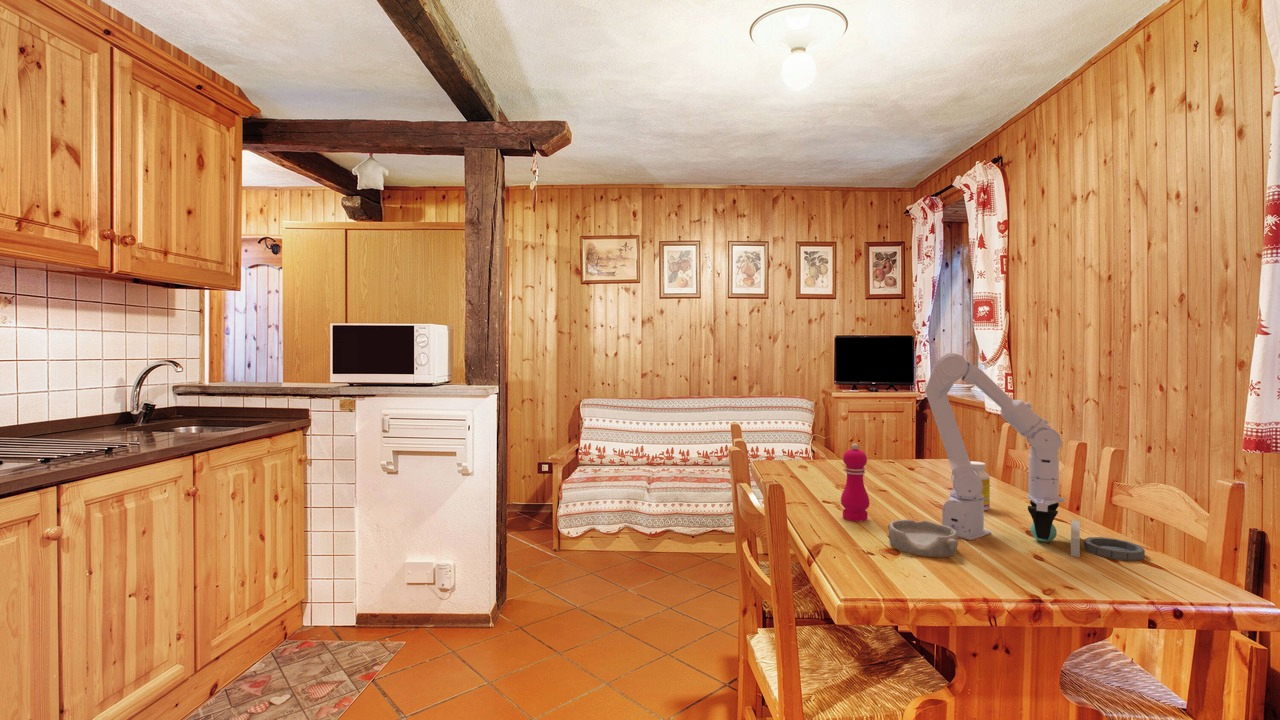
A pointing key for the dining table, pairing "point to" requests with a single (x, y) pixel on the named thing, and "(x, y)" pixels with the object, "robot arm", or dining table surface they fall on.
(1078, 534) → the acrylic wall
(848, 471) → the pepper mill
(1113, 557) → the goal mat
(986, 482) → the supplement bottle
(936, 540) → the dish
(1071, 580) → the dining table surface
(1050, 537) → the ball
